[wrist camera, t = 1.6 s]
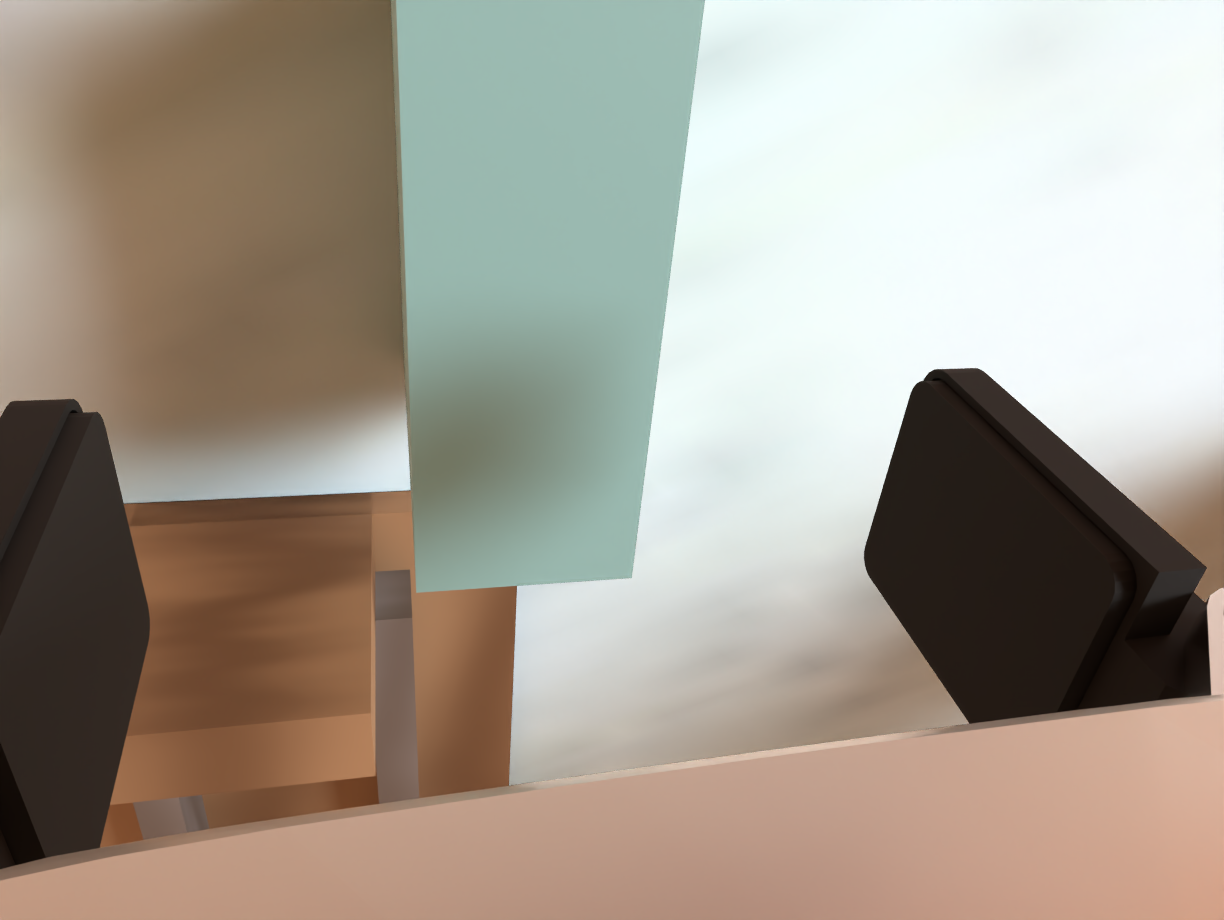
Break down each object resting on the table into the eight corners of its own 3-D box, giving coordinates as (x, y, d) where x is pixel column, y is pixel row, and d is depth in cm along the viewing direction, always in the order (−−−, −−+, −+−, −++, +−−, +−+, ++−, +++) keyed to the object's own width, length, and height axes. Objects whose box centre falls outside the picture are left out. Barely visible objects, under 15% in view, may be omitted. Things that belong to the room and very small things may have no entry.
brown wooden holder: (515, 486, 27) (560, 695, 21) (500, 896, 38) (526, 1118, 31) (-34, 511, 24) (-185, 765, 18) (119, 949, 35) (61, 1206, 28)
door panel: (583, -69, 20) (705, -3, 13) (557, 358, 25) (630, 577, 18) (387, -84, 19) (395, -25, 12) (403, 361, 24) (416, 593, 17)
